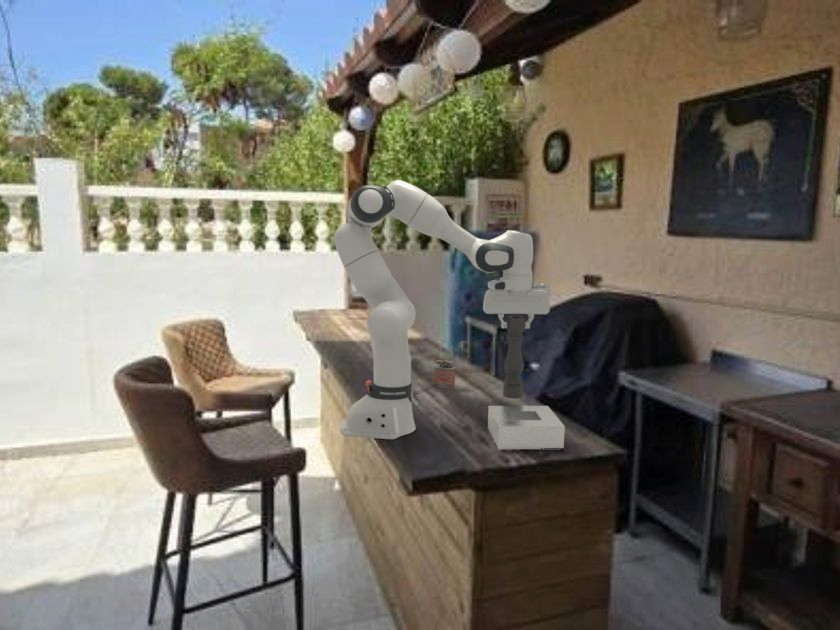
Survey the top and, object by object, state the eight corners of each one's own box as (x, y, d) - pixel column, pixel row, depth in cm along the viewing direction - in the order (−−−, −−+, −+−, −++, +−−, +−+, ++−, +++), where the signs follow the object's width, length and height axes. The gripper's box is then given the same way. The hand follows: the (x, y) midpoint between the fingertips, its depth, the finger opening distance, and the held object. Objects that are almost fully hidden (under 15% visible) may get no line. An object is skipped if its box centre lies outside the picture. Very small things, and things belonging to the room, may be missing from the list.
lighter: (455, 386, 226) (456, 360, 225) (454, 388, 223) (454, 362, 222) (435, 384, 229) (435, 358, 227) (433, 386, 225) (433, 360, 224)
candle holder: (498, 395, 188) (501, 316, 184) (511, 391, 192) (514, 314, 188) (514, 399, 184) (517, 319, 180) (526, 395, 188) (530, 317, 184)
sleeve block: (498, 450, 163) (499, 426, 162) (487, 428, 181) (488, 405, 180) (563, 450, 164) (564, 426, 163) (546, 428, 182) (547, 405, 181)
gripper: (548, 282, 186) (546, 326, 188) (482, 282, 185) (481, 326, 187) (553, 285, 180) (551, 330, 182) (486, 284, 179) (484, 329, 181)
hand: (515, 328), depth 185 cm, fingers closed on candle holder, 6 cm apart
